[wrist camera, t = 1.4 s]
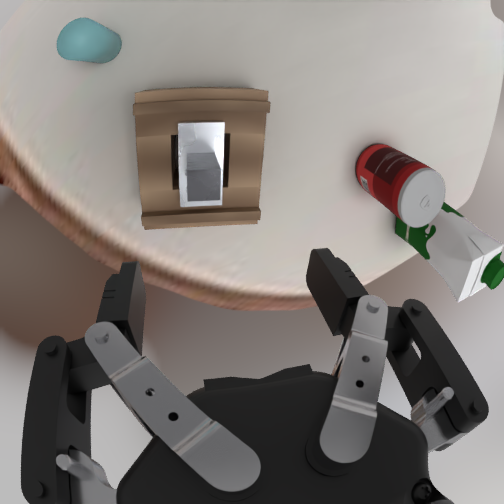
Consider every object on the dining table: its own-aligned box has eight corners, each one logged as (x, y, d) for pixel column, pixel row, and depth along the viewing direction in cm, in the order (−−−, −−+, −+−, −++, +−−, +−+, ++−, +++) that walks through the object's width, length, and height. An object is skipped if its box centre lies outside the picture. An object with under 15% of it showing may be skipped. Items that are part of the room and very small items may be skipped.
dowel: (89, 34, 21) (58, 24, 13) (122, 28, 21) (100, 13, 14) (88, 65, 23) (55, 64, 16) (120, 60, 24) (97, 55, 16)
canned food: (384, 197, 41) (428, 233, 32) (345, 183, 38) (390, 220, 30) (404, 153, 37) (454, 182, 28) (365, 134, 35) (418, 160, 26)
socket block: (146, 90, 27) (132, 93, 20) (252, 88, 29) (271, 91, 23) (151, 202, 34) (143, 234, 28) (245, 197, 37) (259, 228, 30)
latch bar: (178, 121, 23) (175, 134, 18) (223, 120, 24) (232, 132, 19) (180, 201, 28) (179, 233, 23) (220, 200, 28) (229, 231, 24)
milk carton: (426, 226, 47) (497, 294, 31) (389, 238, 46) (461, 318, 30) (431, 183, 41) (516, 247, 25) (392, 193, 41) (481, 269, 25)
